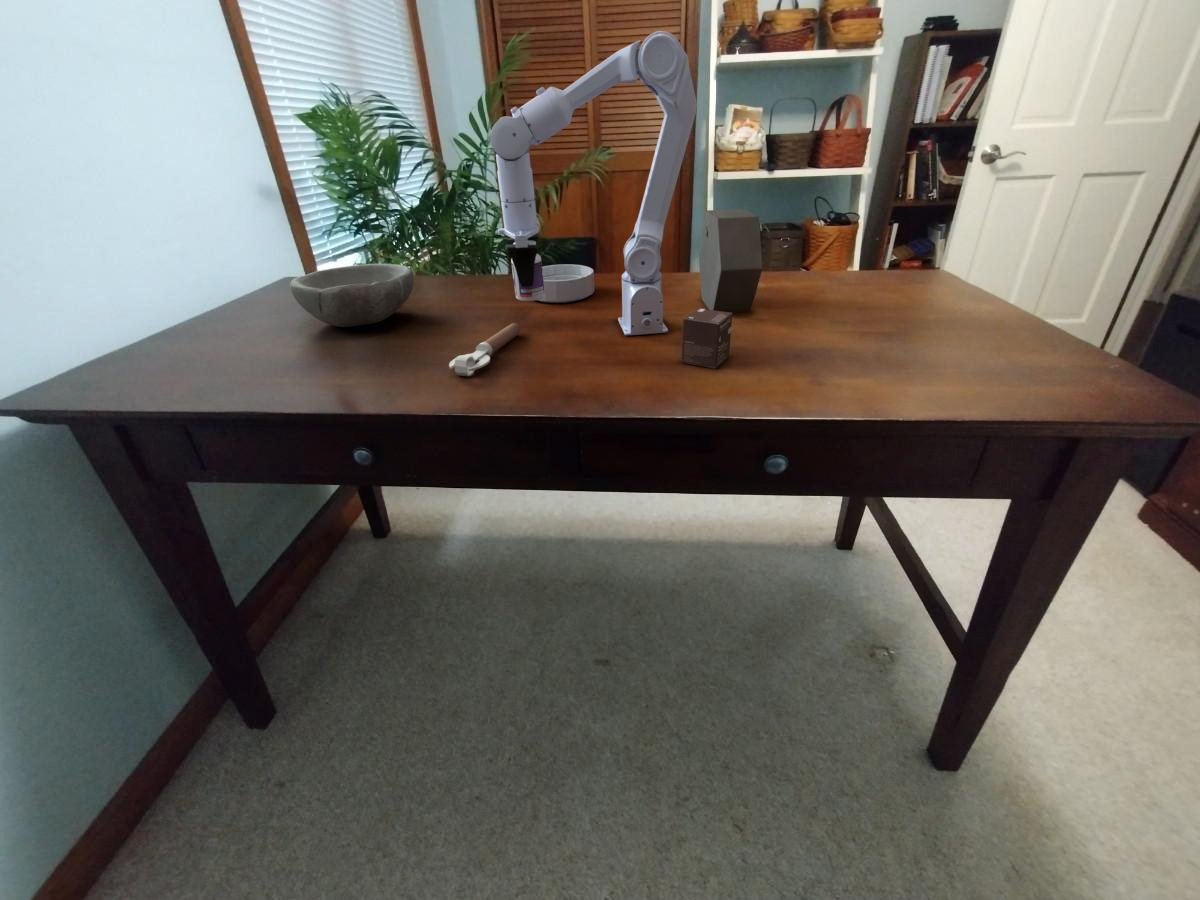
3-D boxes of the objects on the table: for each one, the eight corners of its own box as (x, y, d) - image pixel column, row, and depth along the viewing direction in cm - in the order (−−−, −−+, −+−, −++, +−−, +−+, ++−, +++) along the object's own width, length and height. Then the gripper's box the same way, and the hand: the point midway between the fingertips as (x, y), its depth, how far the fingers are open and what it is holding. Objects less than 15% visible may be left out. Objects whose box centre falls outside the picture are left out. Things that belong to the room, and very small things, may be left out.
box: (715, 370, 84) (719, 323, 80) (679, 363, 87) (681, 318, 83) (729, 356, 88) (733, 312, 84) (695, 350, 91) (697, 307, 87)
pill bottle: (551, 296, 101) (546, 241, 95) (529, 303, 97) (523, 246, 92) (531, 291, 104) (525, 238, 99) (509, 298, 100) (502, 243, 95)
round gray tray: (597, 301, 117) (596, 278, 115) (528, 306, 116) (525, 283, 114) (590, 284, 130) (589, 262, 128) (528, 288, 129) (526, 266, 126)
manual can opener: (494, 333, 102) (492, 317, 101) (524, 334, 101) (523, 318, 100) (445, 377, 85) (441, 359, 84) (480, 379, 84) (477, 361, 83)
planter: (764, 297, 99) (757, 186, 100) (722, 300, 99) (715, 188, 99) (738, 322, 116) (732, 227, 116) (703, 324, 116) (696, 229, 116)
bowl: (440, 306, 119) (431, 259, 114) (389, 342, 100) (375, 288, 95) (345, 304, 123) (332, 258, 118) (279, 339, 104) (260, 286, 99)
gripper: (496, 196, 98) (506, 273, 105) (491, 207, 85) (503, 293, 93) (535, 194, 98) (542, 271, 105) (536, 204, 86) (544, 290, 93)
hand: (526, 281), depth 99 cm, fingers closed on pill bottle, 5 cm apart
